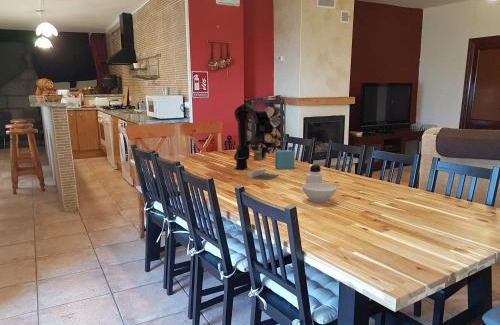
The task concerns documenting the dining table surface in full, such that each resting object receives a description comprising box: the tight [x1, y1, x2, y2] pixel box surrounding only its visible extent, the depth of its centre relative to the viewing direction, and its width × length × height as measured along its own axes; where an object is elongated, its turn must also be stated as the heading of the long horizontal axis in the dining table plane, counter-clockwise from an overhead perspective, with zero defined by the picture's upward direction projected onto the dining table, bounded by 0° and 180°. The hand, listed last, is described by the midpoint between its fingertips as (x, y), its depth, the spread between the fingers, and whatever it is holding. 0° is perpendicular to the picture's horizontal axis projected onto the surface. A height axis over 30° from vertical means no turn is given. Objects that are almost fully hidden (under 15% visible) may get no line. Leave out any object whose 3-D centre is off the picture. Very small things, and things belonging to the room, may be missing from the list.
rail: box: [247, 167, 267, 179], centre depth 234 cm, size 3×16×3 cm, turn 147°
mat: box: [252, 172, 279, 181], centre depth 231 cm, size 10×14×1 cm
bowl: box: [301, 182, 337, 204], centre depth 181 cm, size 16×16×7 cm
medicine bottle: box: [305, 164, 323, 184], centre depth 207 cm, size 7×7×12 cm
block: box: [253, 148, 267, 162], centre depth 231 cm, size 4×7×6 cm, turn 147°
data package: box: [274, 149, 296, 170], centre depth 254 cm, size 12×4×12 cm, turn 107°
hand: (259, 157), depth 231 cm, fingers closed on block, 4 cm apart
